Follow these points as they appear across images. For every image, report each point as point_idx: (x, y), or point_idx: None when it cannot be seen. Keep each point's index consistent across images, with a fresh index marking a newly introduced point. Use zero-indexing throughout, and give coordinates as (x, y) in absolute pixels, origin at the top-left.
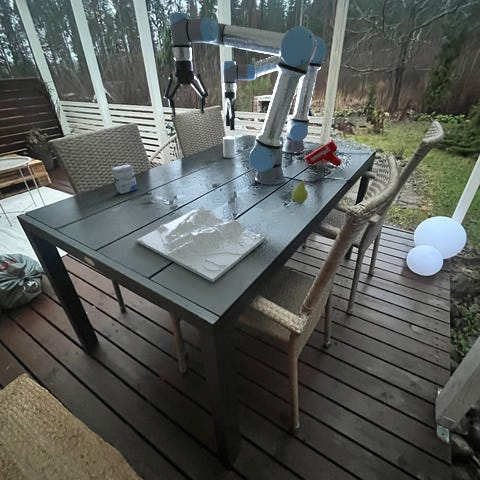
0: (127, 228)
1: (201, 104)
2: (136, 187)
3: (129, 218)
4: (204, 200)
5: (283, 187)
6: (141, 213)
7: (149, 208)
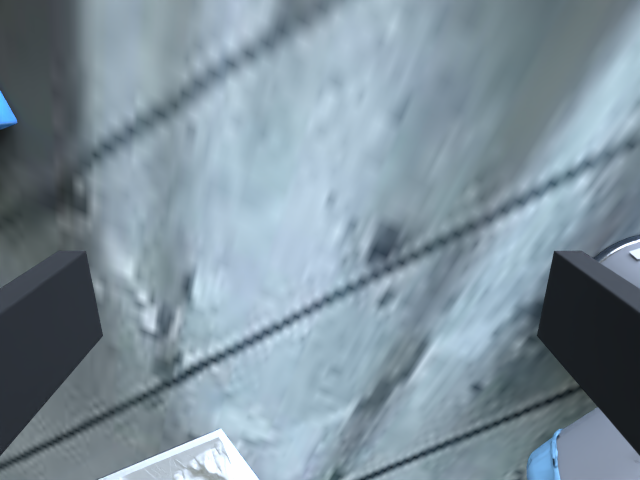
0: None
1: (631, 424)
2: (8, 125)
3: None
4: (286, 357)
5: None
6: None
7: None
